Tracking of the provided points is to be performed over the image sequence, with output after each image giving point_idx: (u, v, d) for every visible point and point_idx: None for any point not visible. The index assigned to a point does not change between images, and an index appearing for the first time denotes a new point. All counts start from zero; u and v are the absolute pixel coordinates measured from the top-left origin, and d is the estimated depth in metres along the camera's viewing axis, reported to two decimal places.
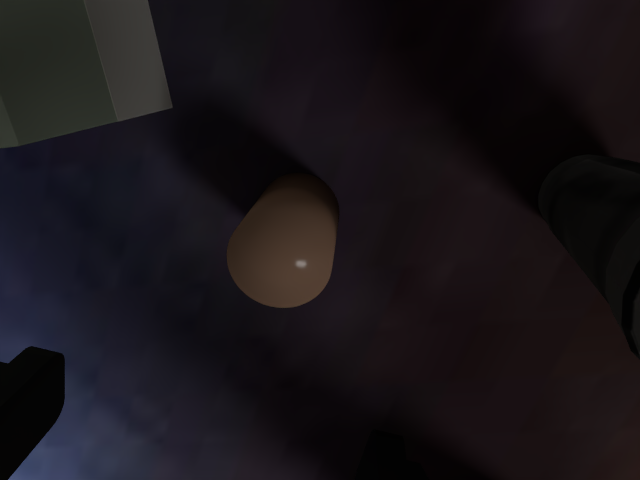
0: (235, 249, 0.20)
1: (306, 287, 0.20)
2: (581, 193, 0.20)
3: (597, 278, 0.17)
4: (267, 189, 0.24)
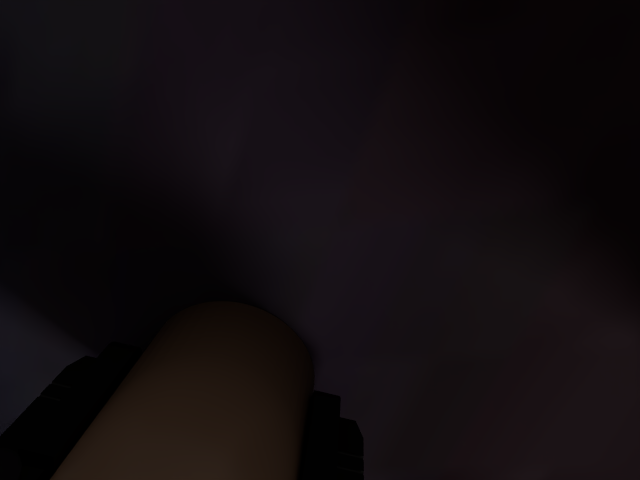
0: None
1: None
2: None
3: None
4: (143, 358, 0.10)
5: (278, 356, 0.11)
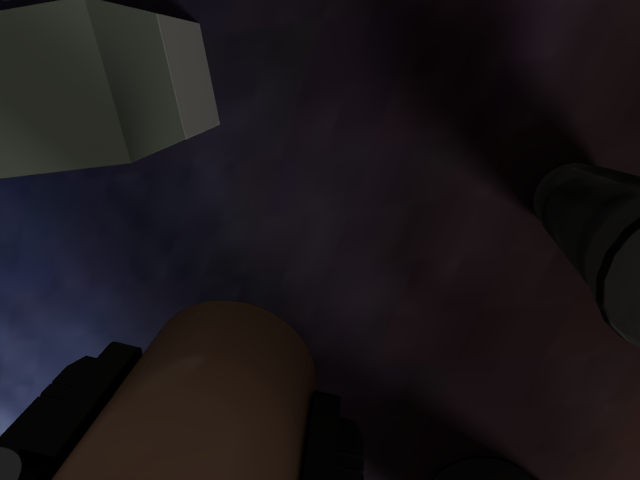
0: None
1: None
2: (568, 196, 0.24)
3: (579, 265, 0.22)
4: (145, 357, 0.10)
5: (280, 355, 0.11)
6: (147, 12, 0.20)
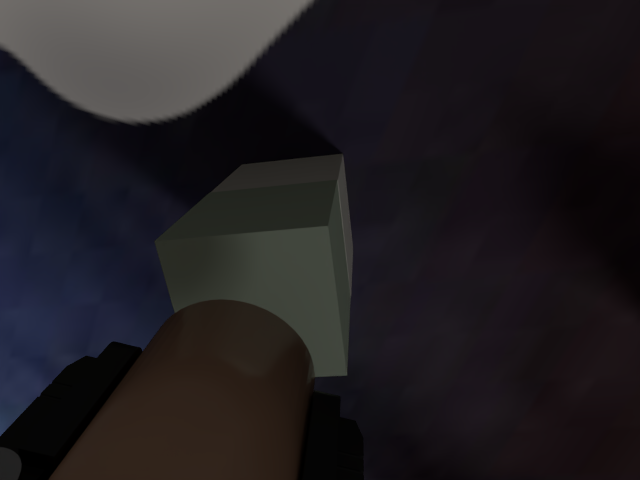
0: None
1: None
2: None
3: None
4: (143, 356, 0.10)
5: (278, 354, 0.11)
6: (336, 186, 0.19)
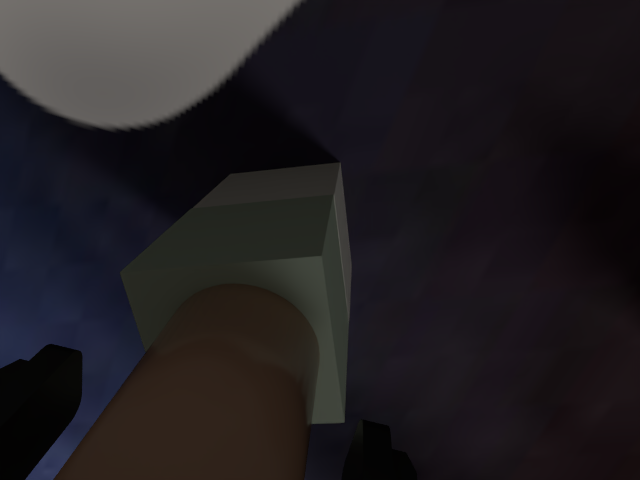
0: None
1: None
2: None
3: None
4: (164, 333, 0.11)
5: (287, 333, 0.12)
6: (332, 203, 0.17)
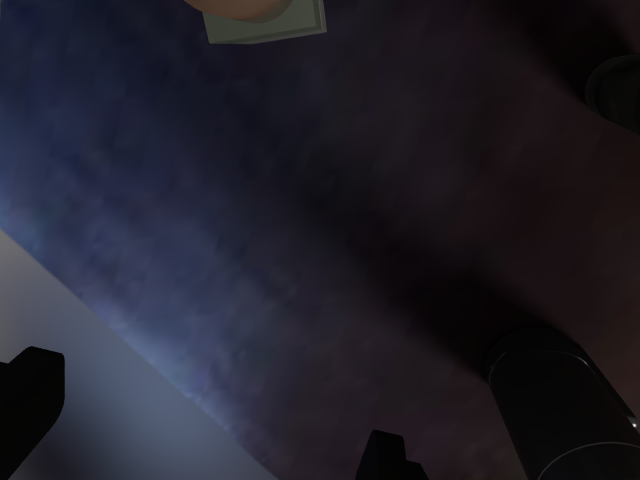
0: None
1: None
2: (621, 72, 0.31)
3: (636, 115, 0.28)
4: None
5: None
6: None
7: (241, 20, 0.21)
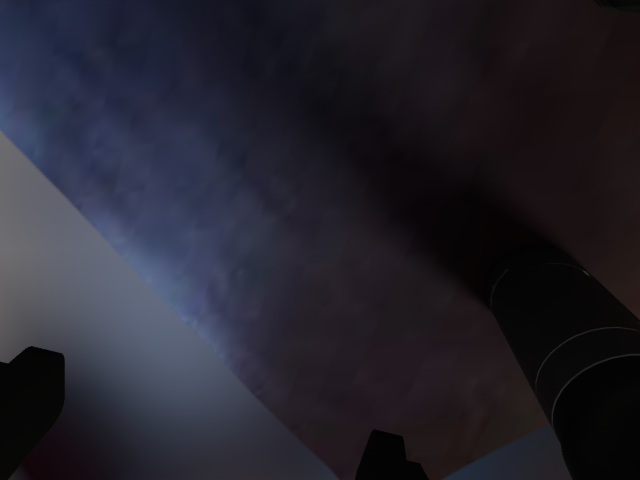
0: None
1: None
2: None
3: None
4: None
5: None
6: None
7: None
